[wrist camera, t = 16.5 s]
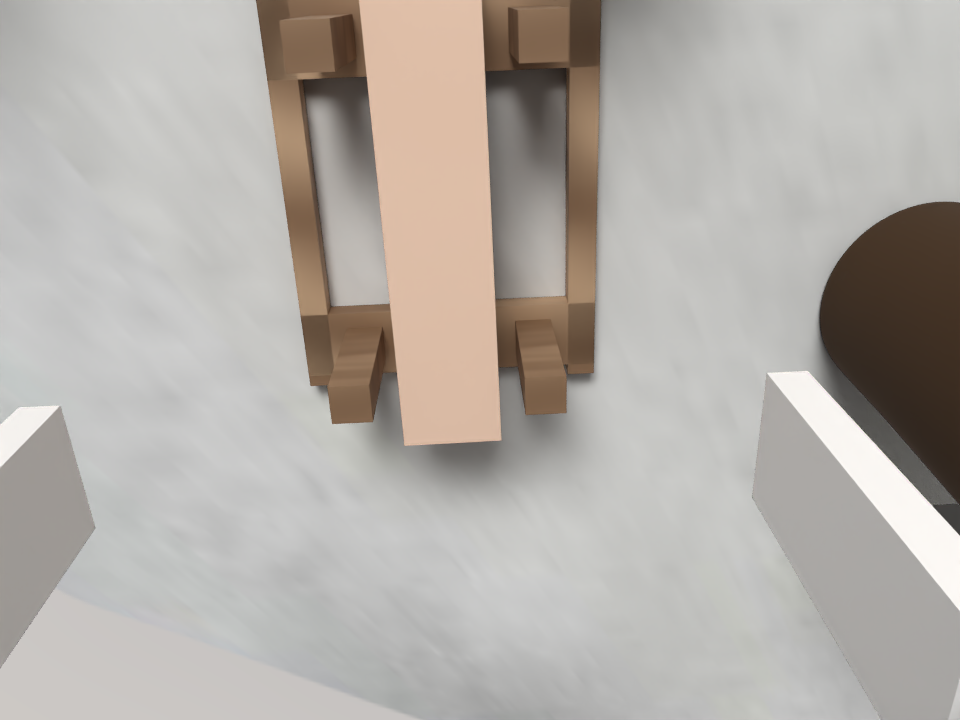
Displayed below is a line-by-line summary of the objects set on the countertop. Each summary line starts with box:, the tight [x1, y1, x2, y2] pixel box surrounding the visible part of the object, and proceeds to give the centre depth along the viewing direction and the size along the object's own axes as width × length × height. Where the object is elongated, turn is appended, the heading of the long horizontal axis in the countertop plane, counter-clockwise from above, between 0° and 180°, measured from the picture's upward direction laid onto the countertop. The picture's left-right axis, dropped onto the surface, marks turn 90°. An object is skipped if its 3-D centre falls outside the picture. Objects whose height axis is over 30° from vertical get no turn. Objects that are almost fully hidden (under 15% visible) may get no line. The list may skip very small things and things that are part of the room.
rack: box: [256, 0, 601, 424], centre depth 32 cm, size 17×13×7 cm
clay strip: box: [359, 0, 501, 446], centre depth 32 cm, size 18×4×5 cm, turn 3°
